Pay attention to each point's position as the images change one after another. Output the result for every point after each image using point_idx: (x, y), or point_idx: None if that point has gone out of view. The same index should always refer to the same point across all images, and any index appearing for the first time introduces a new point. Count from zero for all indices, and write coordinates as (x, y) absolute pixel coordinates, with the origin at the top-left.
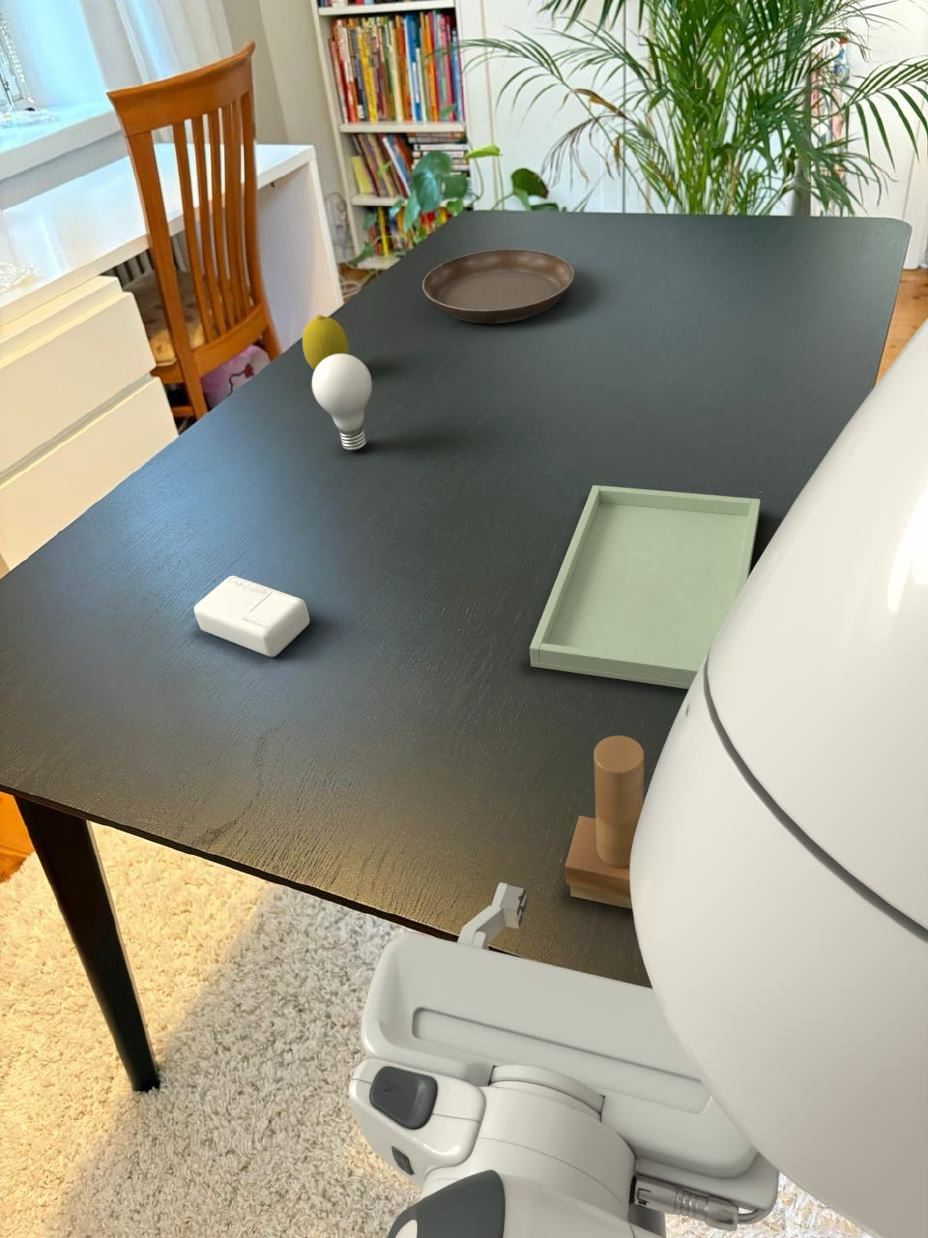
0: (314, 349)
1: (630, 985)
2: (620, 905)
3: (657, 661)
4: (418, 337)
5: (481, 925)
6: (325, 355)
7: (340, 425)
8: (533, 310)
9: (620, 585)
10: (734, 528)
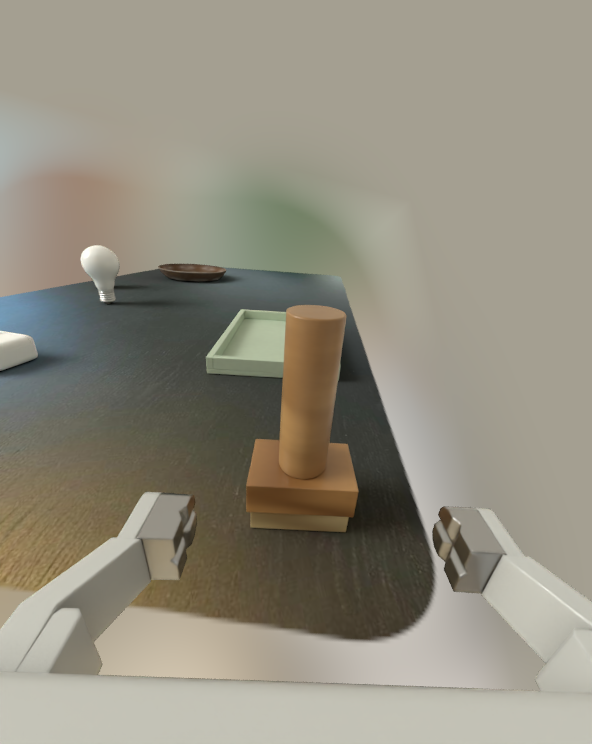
0: None
1: (510, 699)
2: (305, 528)
3: None
4: (154, 282)
5: (77, 588)
6: None
7: (98, 285)
8: (208, 276)
9: (261, 341)
10: None
